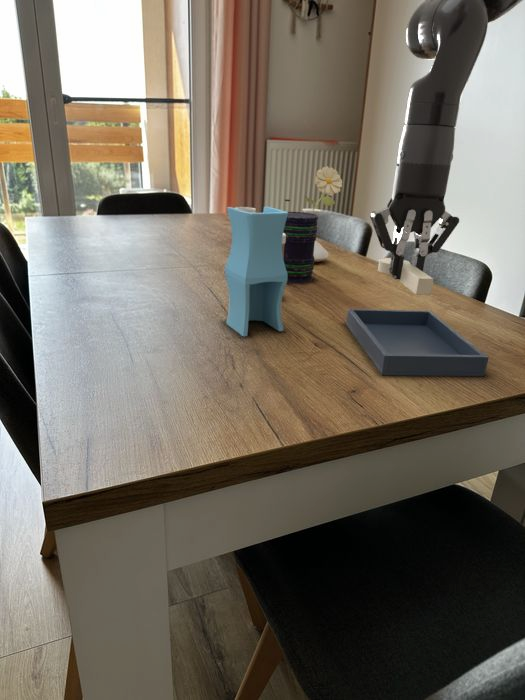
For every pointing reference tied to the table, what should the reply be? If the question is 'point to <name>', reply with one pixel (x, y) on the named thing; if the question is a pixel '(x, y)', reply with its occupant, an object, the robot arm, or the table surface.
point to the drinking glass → (246, 209)
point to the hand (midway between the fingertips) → (404, 278)
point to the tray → (414, 344)
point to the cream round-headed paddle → (410, 277)
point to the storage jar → (299, 246)
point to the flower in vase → (324, 201)
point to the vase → (256, 268)
